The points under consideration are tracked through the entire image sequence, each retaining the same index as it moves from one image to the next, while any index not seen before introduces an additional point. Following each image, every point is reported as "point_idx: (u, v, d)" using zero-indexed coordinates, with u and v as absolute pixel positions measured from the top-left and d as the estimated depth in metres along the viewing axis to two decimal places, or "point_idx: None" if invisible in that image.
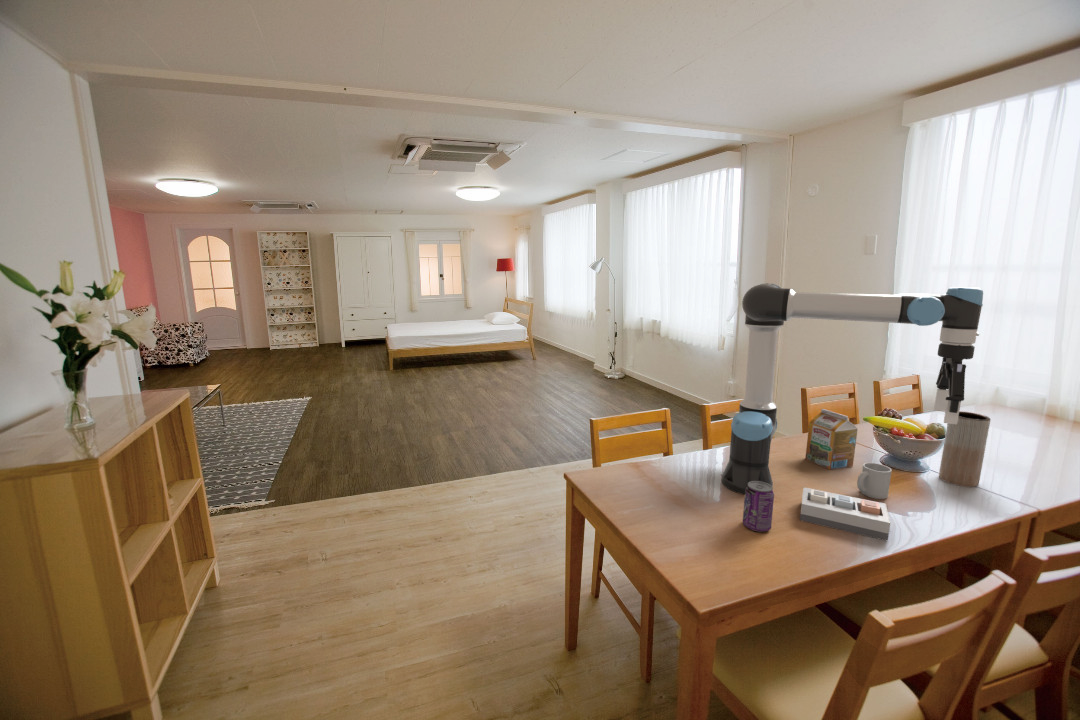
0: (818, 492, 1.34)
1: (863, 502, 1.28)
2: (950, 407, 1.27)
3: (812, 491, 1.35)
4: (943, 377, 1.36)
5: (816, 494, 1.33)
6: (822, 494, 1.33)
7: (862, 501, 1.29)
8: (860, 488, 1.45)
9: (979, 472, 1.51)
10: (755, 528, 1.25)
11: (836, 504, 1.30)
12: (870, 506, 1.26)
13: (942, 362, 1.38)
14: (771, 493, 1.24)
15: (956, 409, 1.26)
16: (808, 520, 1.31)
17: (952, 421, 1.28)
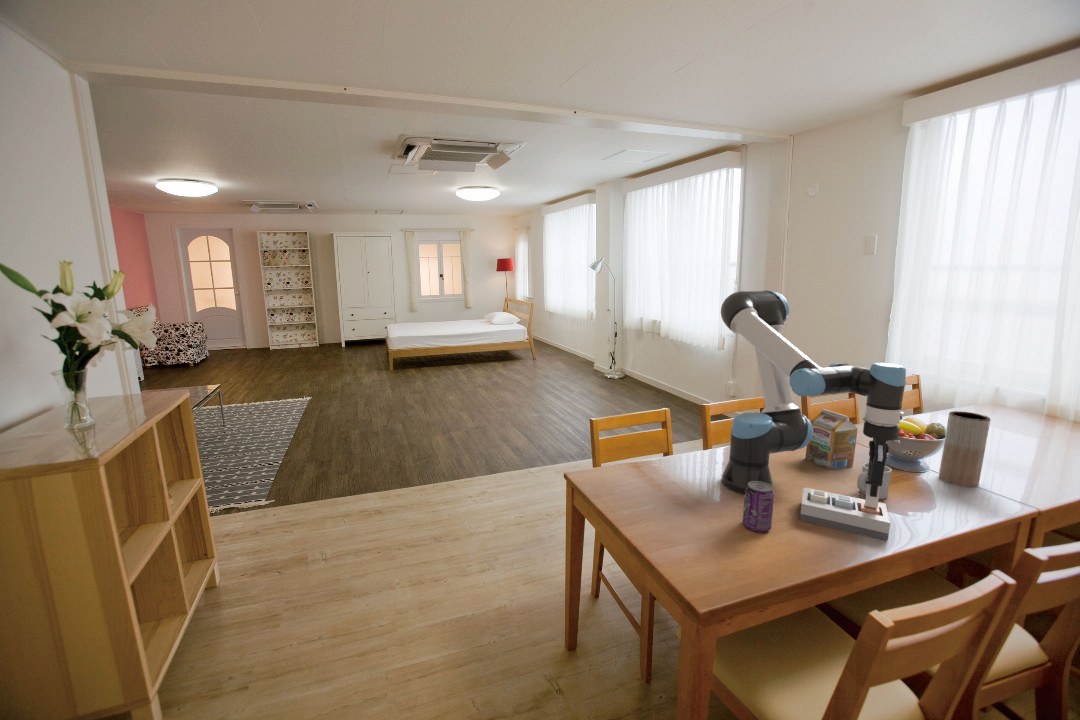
0: (818, 492, 1.34)
1: (863, 505, 1.29)
2: (870, 491, 1.26)
3: (812, 491, 1.35)
4: None
5: (816, 494, 1.33)
6: (822, 494, 1.33)
7: (862, 504, 1.29)
8: (860, 488, 1.45)
9: (979, 472, 1.51)
10: (755, 528, 1.25)
11: (836, 504, 1.30)
12: (870, 509, 1.26)
13: None
14: (771, 493, 1.24)
15: (875, 493, 1.25)
16: (808, 520, 1.31)
17: (873, 505, 1.26)
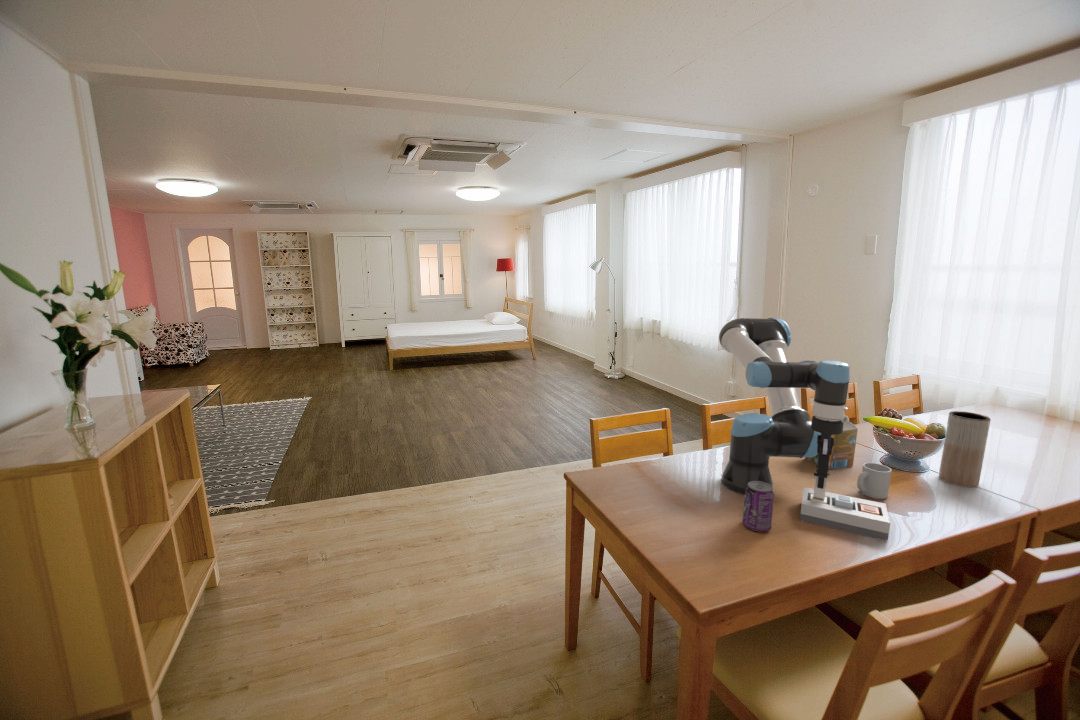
0: None
1: (862, 507, 1.29)
2: (817, 482, 1.32)
3: (811, 496, 1.35)
4: None
5: (816, 499, 1.33)
6: (821, 499, 1.33)
7: (861, 506, 1.29)
8: (860, 488, 1.45)
9: (979, 472, 1.51)
10: (755, 528, 1.25)
11: (836, 504, 1.30)
12: (869, 511, 1.26)
13: None
14: (771, 493, 1.24)
15: (822, 485, 1.31)
16: (808, 520, 1.31)
17: (820, 496, 1.33)
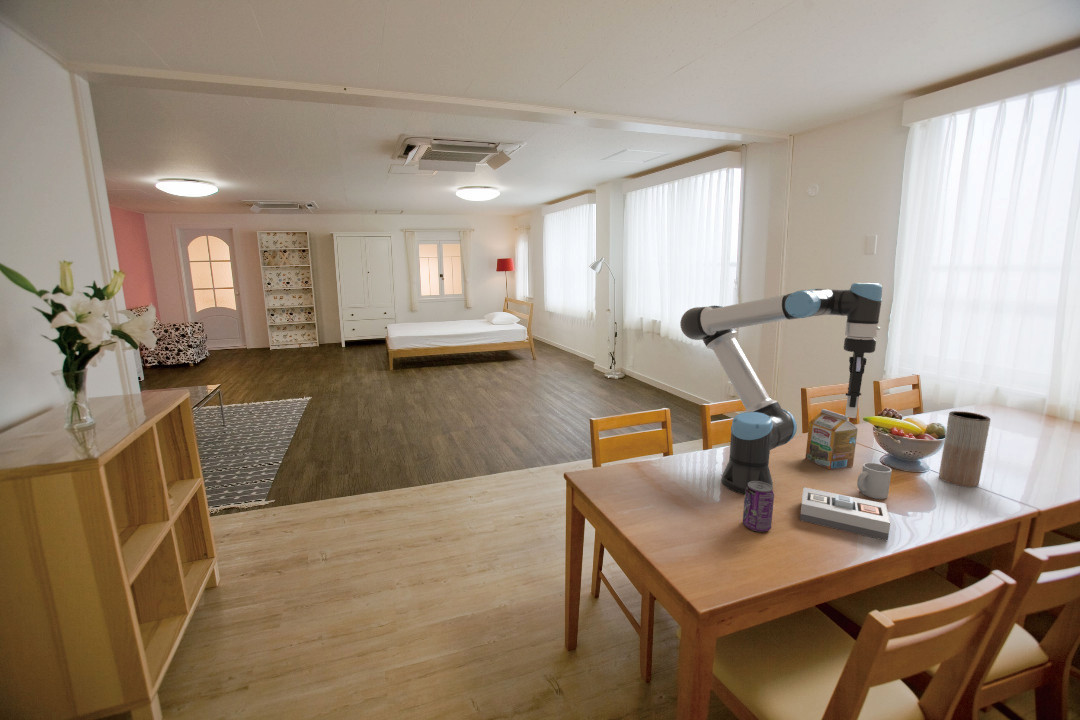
0: (817, 497, 1.34)
1: (862, 507, 1.29)
2: (849, 402, 1.37)
3: (811, 496, 1.35)
4: (851, 375, 1.38)
5: (816, 499, 1.33)
6: (821, 499, 1.33)
7: (861, 506, 1.29)
8: (860, 488, 1.45)
9: (979, 472, 1.51)
10: (755, 528, 1.25)
11: (836, 504, 1.30)
12: (869, 511, 1.26)
13: None
14: (771, 493, 1.24)
15: (854, 404, 1.36)
16: (808, 520, 1.31)
17: (852, 415, 1.38)
